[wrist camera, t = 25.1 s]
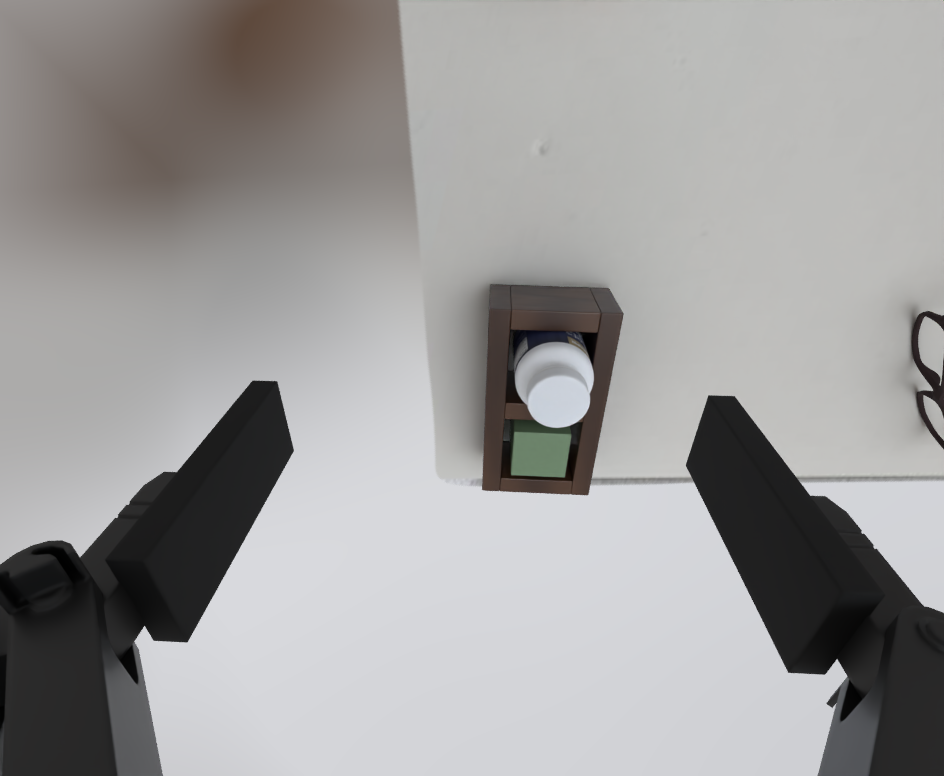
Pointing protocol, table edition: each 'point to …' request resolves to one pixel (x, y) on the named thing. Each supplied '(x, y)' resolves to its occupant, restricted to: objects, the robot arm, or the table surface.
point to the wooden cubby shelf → (516, 312)
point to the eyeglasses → (929, 375)
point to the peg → (538, 449)
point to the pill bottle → (553, 375)
